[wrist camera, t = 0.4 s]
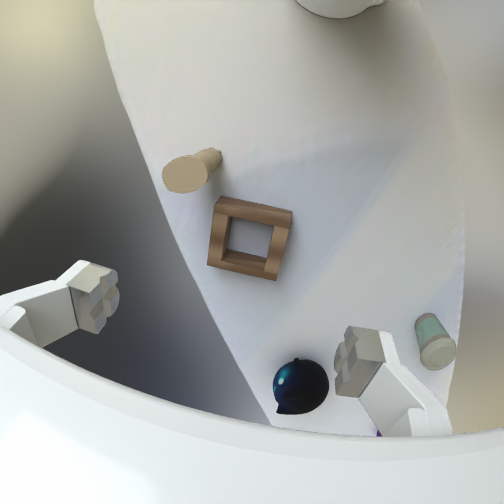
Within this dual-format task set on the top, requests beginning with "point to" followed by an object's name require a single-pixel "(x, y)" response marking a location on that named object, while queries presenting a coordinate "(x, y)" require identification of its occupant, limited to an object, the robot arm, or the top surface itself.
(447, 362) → the coffee cup
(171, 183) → the handle
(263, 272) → the frame
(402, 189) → the top surface
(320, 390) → the figurine
